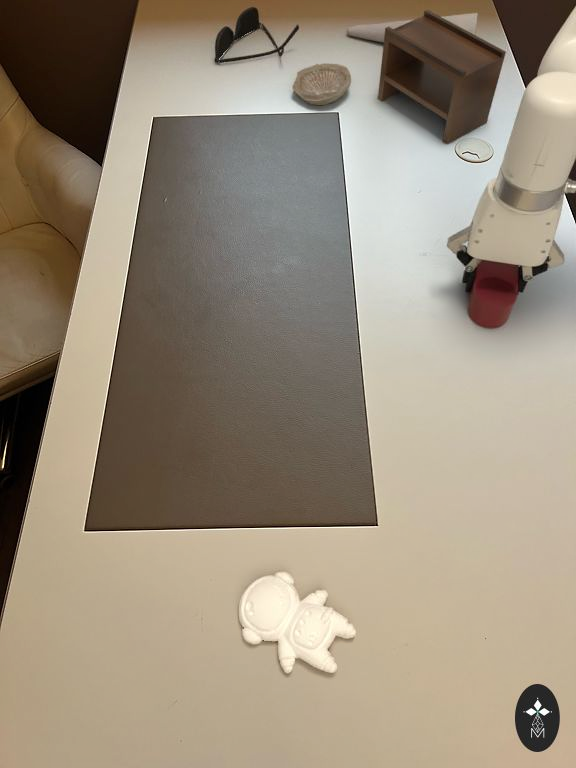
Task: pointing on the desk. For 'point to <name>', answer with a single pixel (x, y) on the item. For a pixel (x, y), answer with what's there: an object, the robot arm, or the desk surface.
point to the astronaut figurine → (292, 621)
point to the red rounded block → (493, 293)
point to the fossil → (322, 83)
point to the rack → (442, 71)
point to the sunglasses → (244, 25)
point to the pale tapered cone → (378, 30)
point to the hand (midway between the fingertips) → (490, 288)
